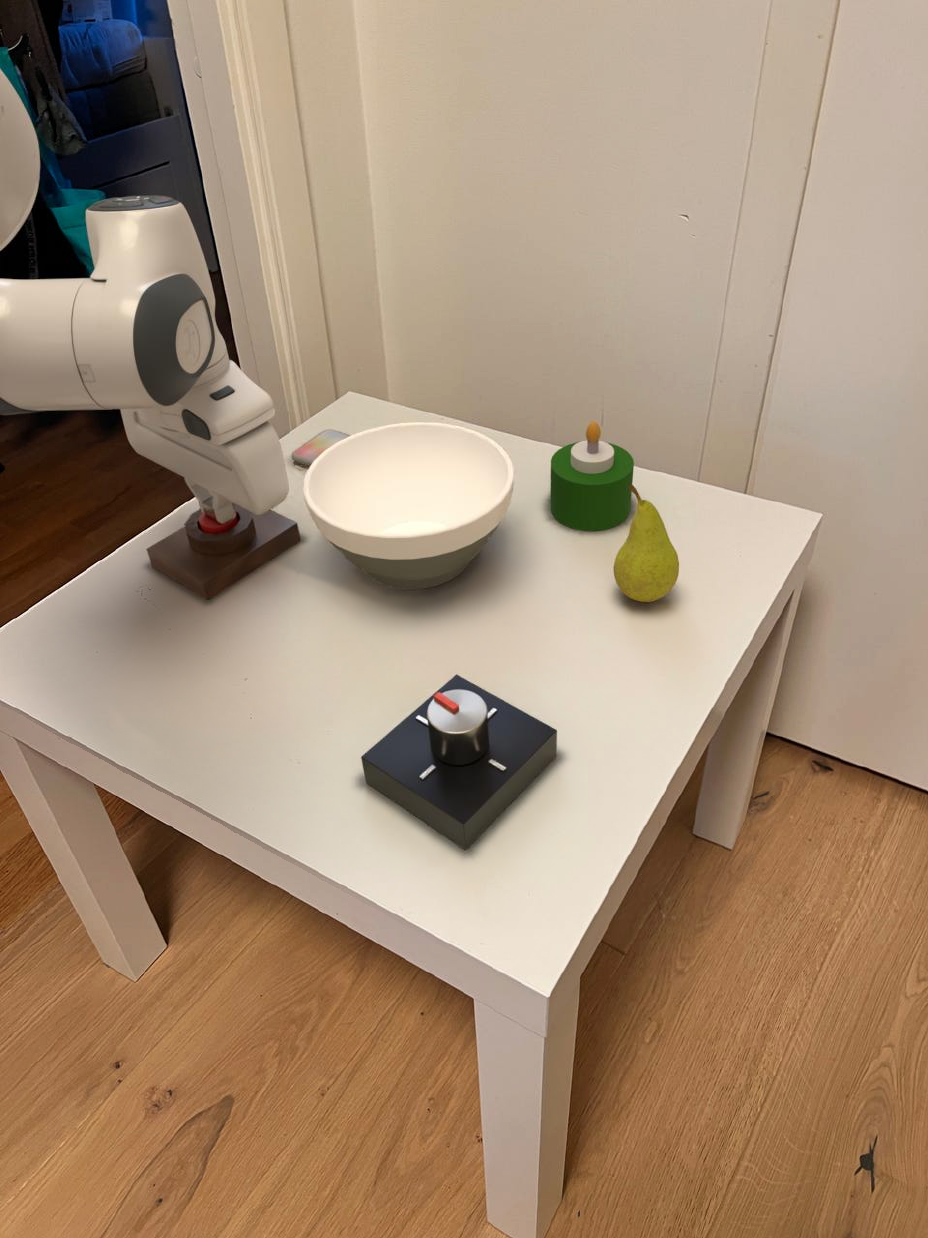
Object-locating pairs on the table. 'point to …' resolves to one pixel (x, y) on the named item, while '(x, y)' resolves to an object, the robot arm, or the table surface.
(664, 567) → the fruit
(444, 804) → the dimmer panel
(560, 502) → the candle
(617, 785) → the table surface
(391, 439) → the bowl
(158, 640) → the table surface
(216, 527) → the light button
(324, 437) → the smartphone
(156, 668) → the table surface
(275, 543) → the lamp switch
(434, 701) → the dimmer knob
